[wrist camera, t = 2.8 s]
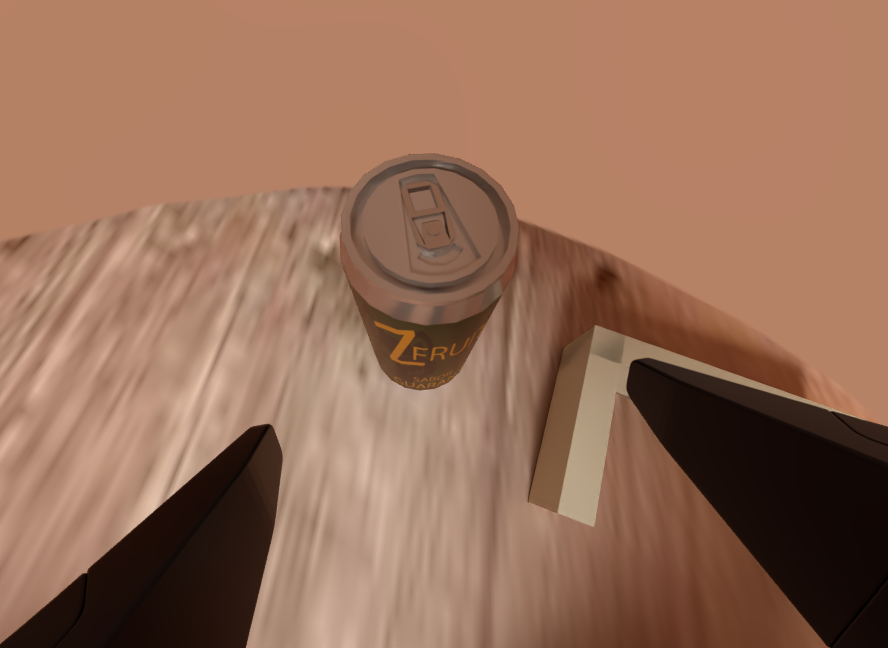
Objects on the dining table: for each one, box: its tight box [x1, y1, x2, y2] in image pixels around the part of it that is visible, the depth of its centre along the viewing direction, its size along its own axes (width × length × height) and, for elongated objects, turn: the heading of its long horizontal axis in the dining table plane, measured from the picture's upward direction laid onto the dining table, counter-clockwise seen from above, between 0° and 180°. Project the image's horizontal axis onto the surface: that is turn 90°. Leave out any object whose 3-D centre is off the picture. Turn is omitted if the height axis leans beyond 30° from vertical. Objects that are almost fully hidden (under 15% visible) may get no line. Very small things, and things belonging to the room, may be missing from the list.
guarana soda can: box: [340, 154, 519, 390], centre depth 15 cm, size 5×5×12 cm
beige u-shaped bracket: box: [528, 325, 870, 527], centre depth 18 cm, size 9×16×4 cm, turn 70°
